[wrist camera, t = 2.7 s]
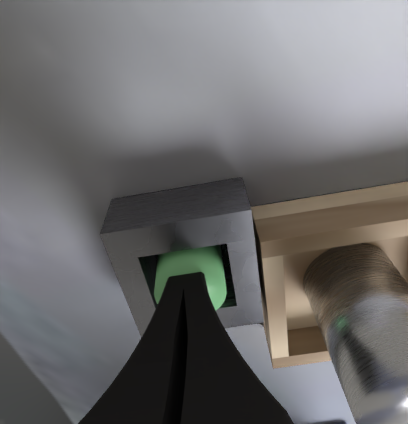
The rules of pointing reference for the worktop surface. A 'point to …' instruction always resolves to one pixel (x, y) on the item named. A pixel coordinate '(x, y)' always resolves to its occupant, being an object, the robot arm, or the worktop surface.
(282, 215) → the wooden compartment tray
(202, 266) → the button
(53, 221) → the worktop surface
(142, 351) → the robot arm
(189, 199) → the grey square socket block
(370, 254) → the seated billet
